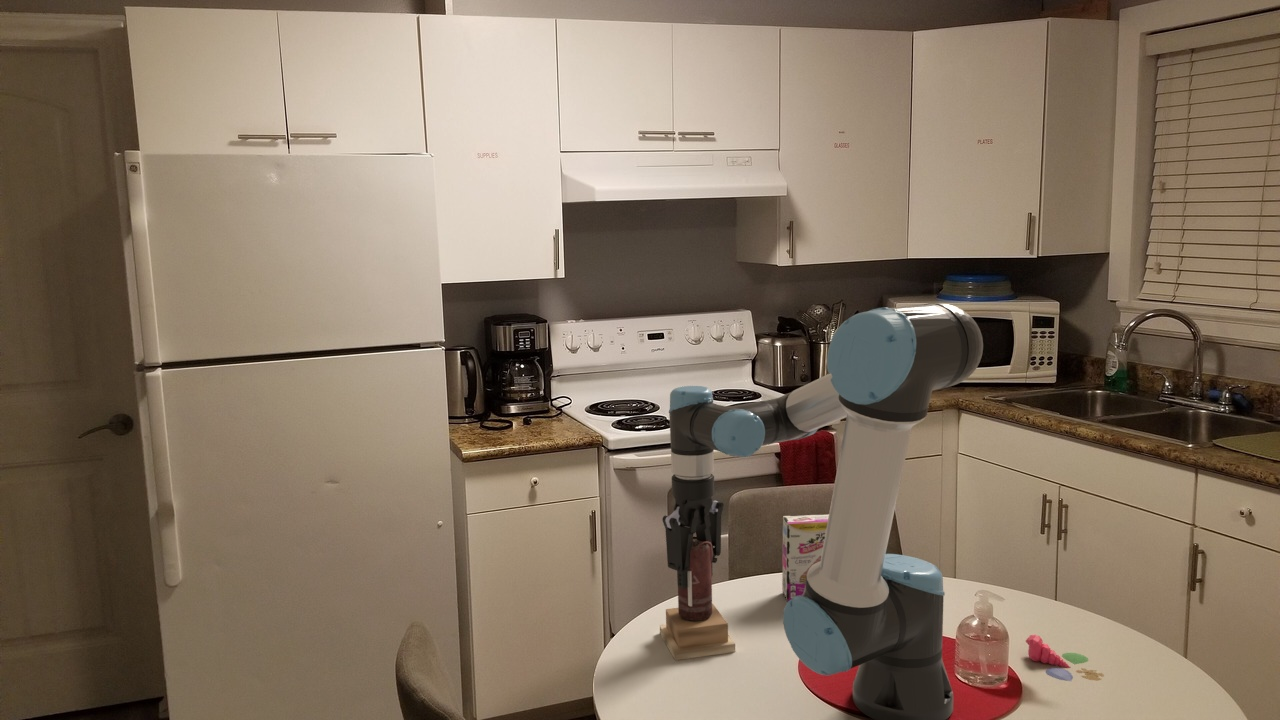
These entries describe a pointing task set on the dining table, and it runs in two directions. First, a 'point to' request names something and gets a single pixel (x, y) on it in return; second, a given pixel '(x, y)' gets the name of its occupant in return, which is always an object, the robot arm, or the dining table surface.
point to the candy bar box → (801, 550)
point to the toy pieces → (1058, 660)
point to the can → (698, 584)
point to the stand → (696, 635)
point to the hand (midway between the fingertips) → (695, 599)
